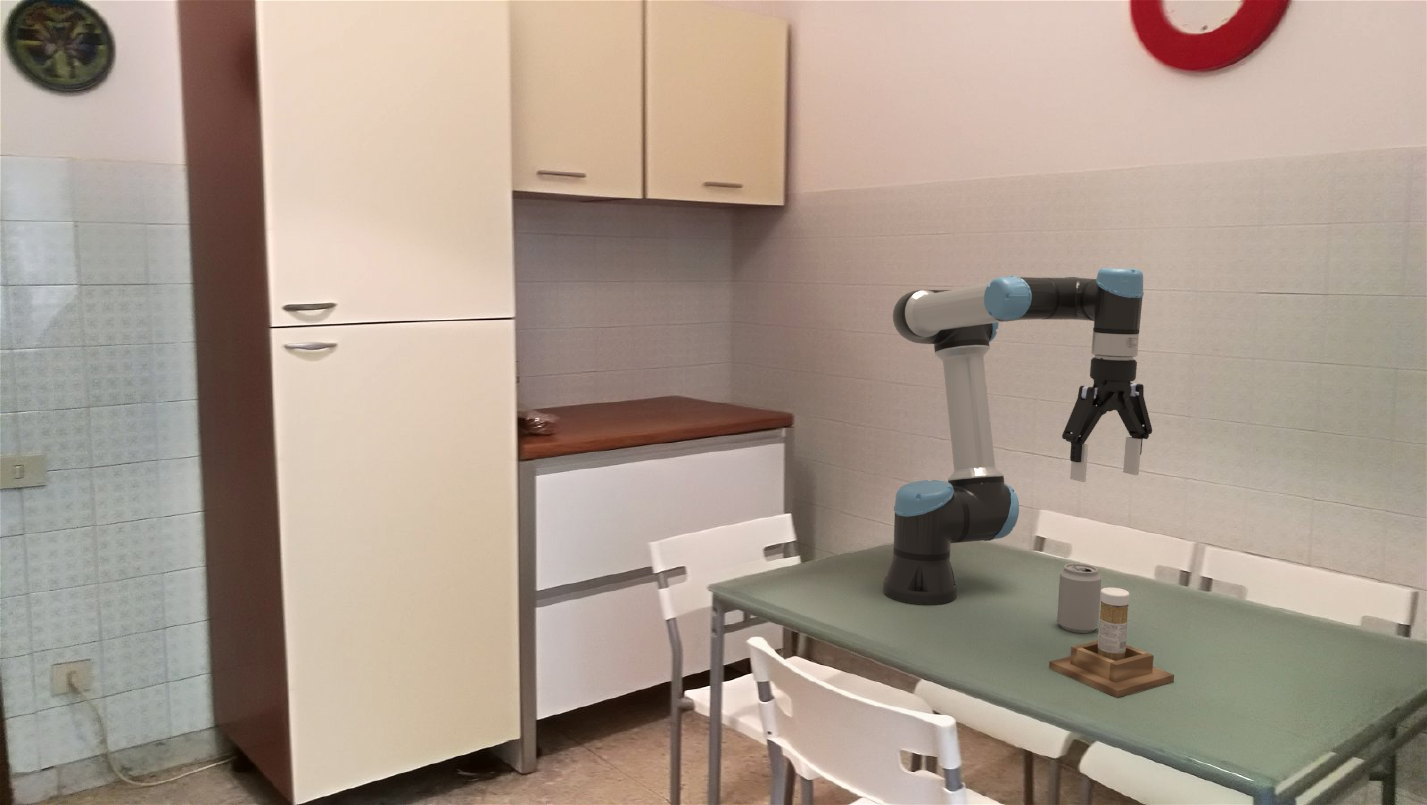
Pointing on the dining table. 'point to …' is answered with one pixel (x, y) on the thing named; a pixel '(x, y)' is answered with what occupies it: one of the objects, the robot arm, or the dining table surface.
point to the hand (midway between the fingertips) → (1104, 477)
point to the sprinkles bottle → (1113, 623)
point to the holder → (1112, 670)
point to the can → (1079, 598)
